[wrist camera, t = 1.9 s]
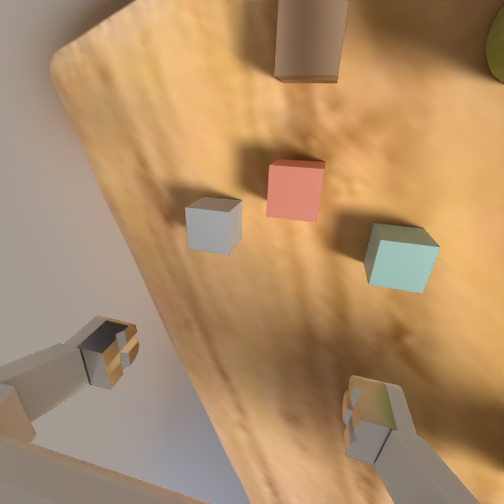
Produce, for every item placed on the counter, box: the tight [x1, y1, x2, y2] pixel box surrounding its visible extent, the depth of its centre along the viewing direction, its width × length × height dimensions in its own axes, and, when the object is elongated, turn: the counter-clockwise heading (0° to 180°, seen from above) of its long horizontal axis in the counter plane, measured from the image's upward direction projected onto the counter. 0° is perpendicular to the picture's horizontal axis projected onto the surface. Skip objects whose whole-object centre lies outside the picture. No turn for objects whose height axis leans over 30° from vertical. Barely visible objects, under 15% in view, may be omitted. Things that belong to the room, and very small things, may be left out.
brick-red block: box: [266, 159, 325, 222], centre depth 28 cm, size 5×5×5 cm
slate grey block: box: [185, 196, 242, 255], centre depth 32 cm, size 5×5×5 cm
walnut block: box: [274, 0, 349, 83], centre depth 22 cm, size 5×5×5 cm
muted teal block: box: [364, 223, 440, 293], centre depth 28 cm, size 5×5×5 cm
